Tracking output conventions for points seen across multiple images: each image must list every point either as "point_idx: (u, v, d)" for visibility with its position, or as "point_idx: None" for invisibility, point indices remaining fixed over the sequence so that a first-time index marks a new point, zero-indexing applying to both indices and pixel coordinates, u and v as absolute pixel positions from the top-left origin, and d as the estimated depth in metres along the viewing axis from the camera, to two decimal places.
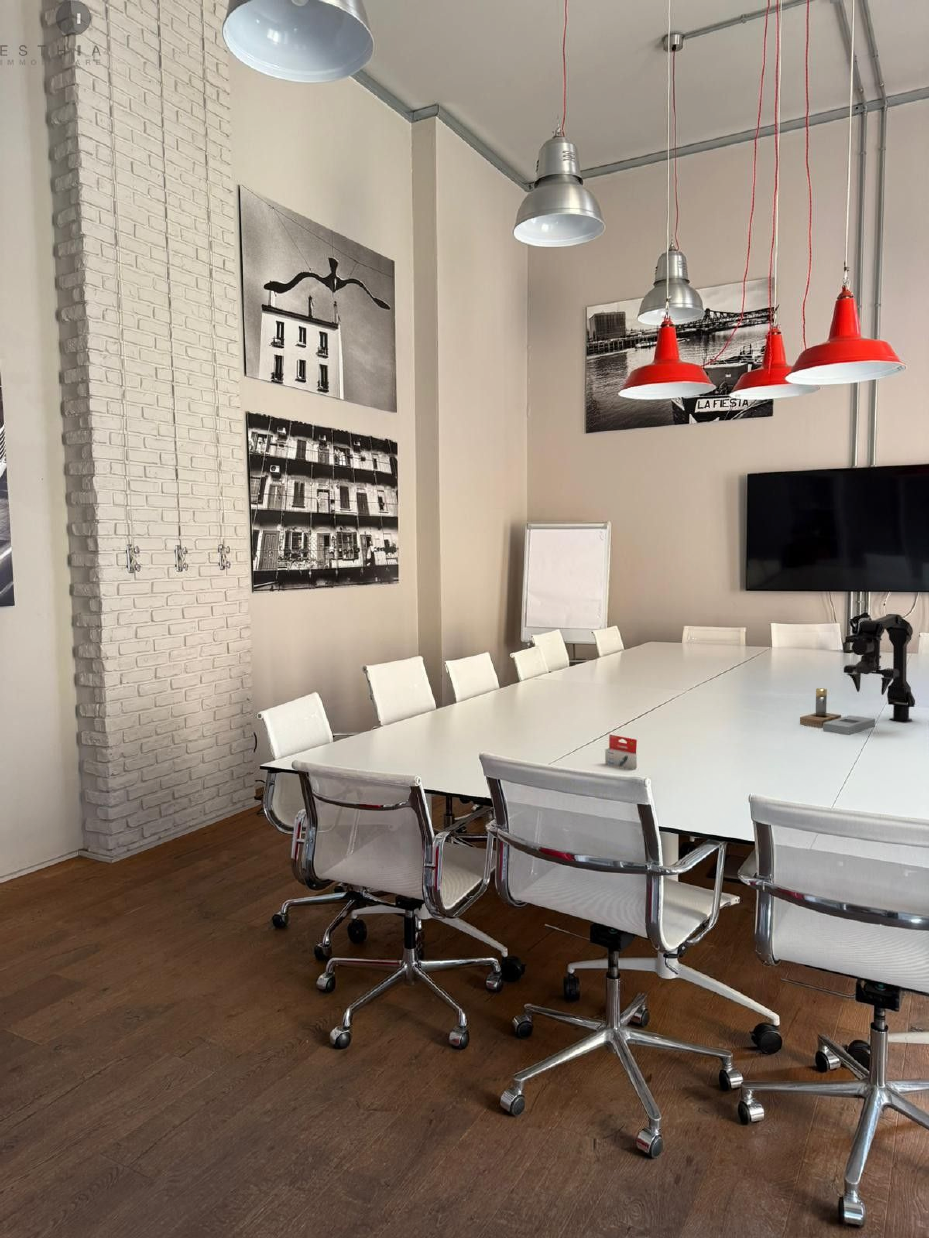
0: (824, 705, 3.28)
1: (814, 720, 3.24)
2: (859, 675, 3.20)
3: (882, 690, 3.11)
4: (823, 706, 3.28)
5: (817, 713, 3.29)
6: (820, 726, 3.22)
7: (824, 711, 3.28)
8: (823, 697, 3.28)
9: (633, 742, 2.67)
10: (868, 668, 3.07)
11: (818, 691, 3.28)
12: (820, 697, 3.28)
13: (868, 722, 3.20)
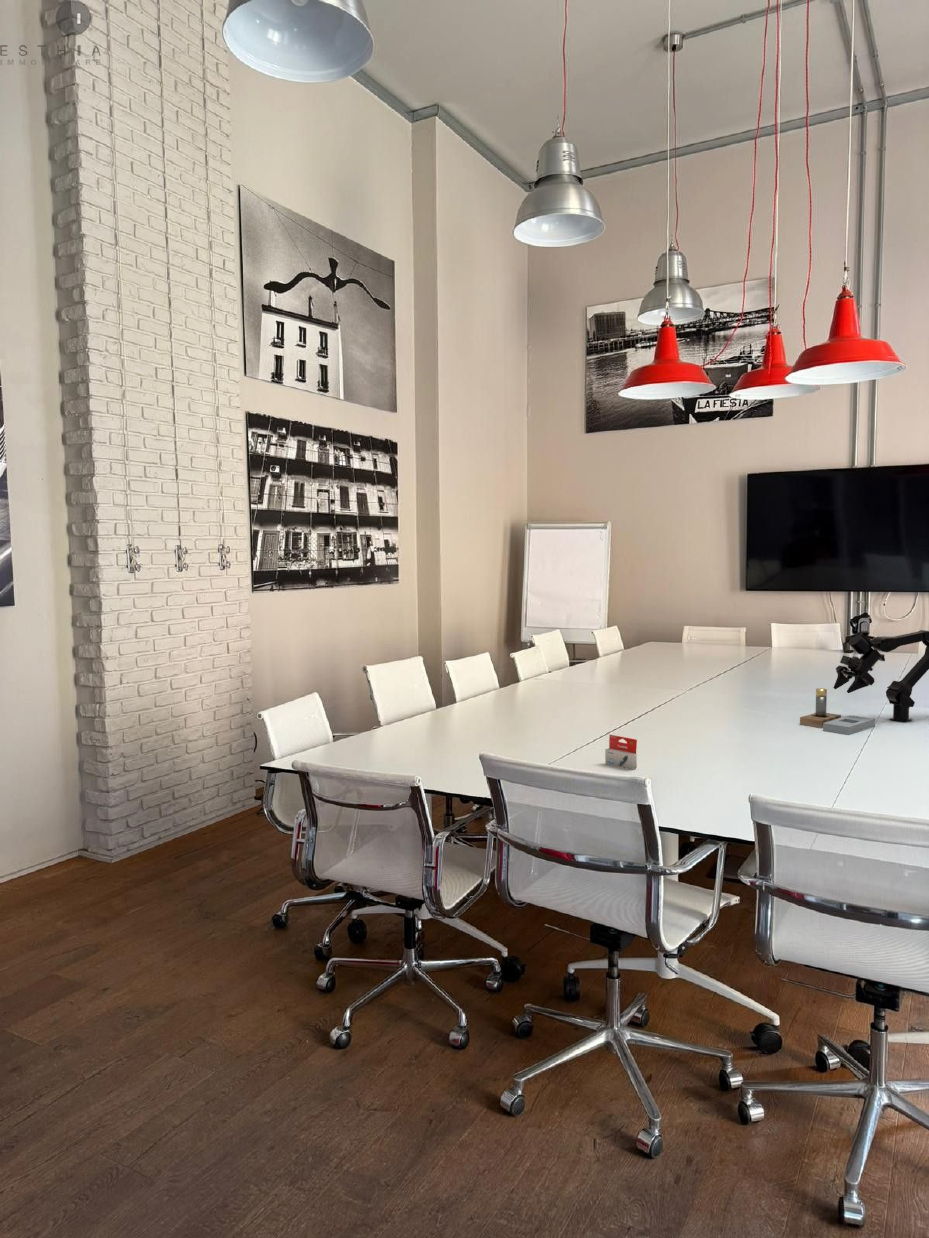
0: (824, 705, 3.28)
1: (814, 720, 3.24)
2: (846, 679, 3.35)
3: (849, 687, 3.25)
4: (823, 706, 3.28)
5: (817, 713, 3.29)
6: (820, 726, 3.22)
7: (824, 711, 3.28)
8: (823, 697, 3.28)
9: (633, 742, 2.67)
10: (849, 658, 3.27)
11: (818, 691, 3.28)
12: (820, 697, 3.28)
13: (868, 722, 3.20)
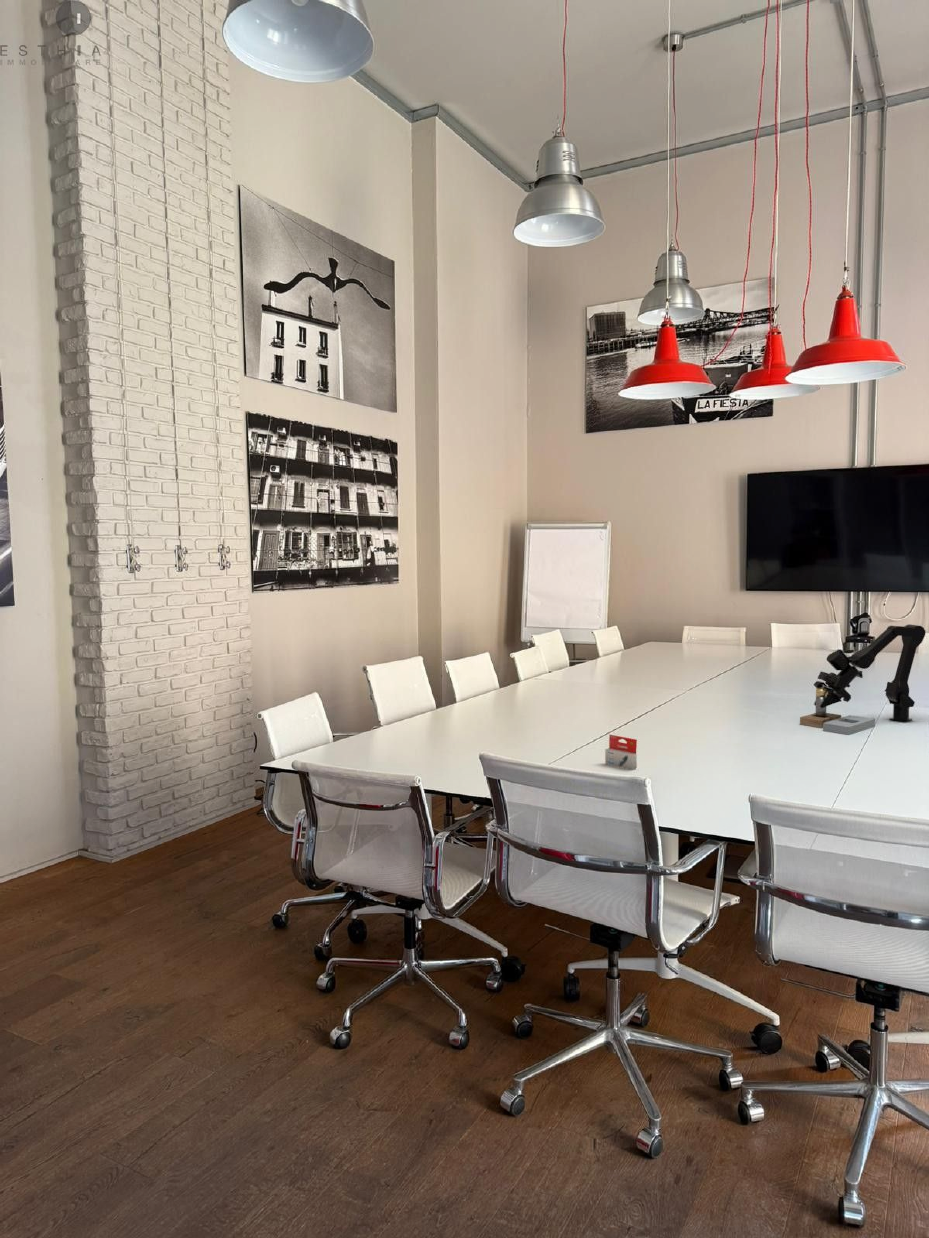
0: None
1: (814, 720, 3.24)
2: (827, 696, 3.33)
3: (822, 702, 3.27)
4: None
5: (817, 713, 3.29)
6: (820, 726, 3.22)
7: (824, 711, 3.28)
8: (823, 697, 3.28)
9: (633, 742, 2.67)
10: (826, 674, 3.26)
11: (818, 691, 3.28)
12: (820, 697, 3.28)
13: (868, 722, 3.20)
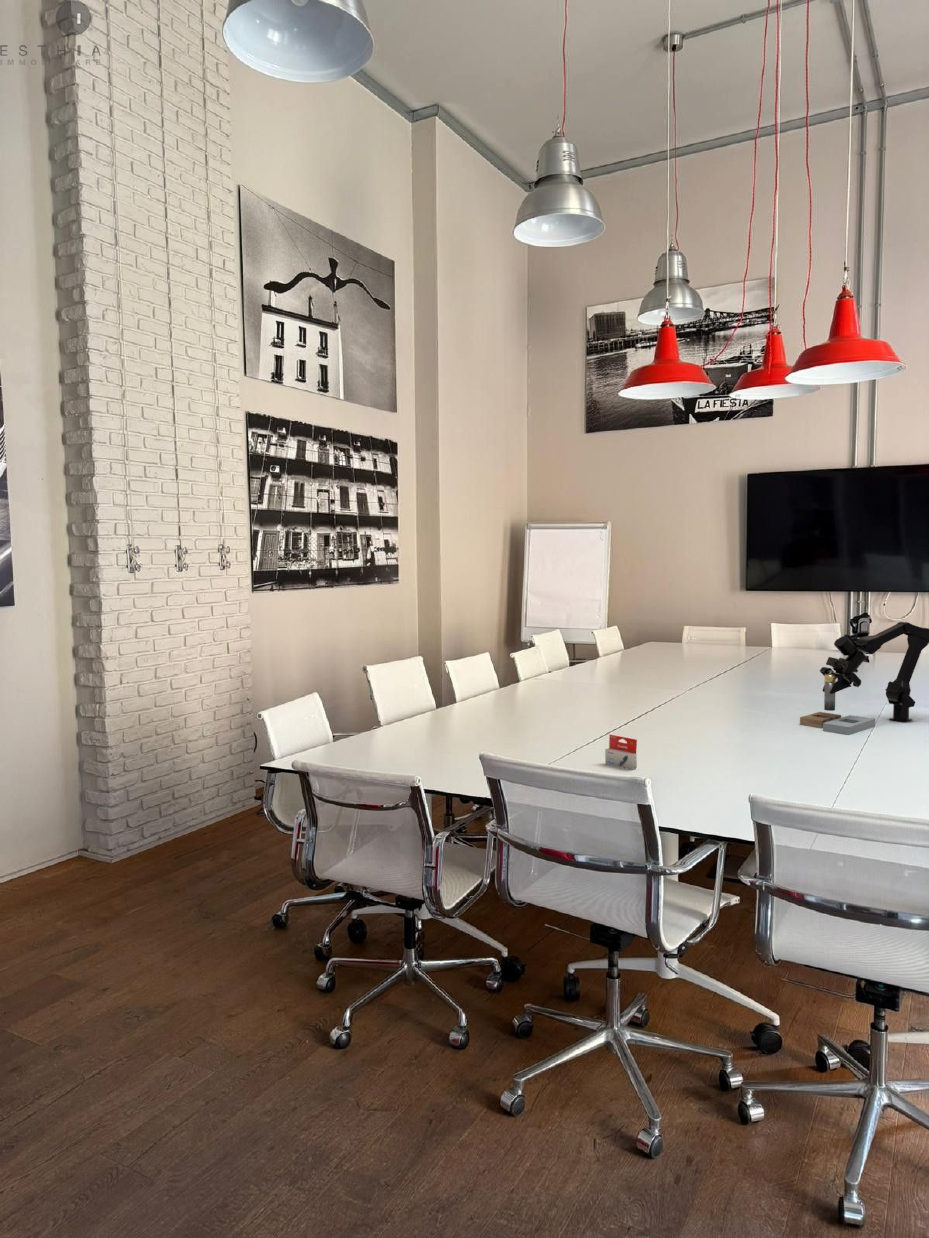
0: None
1: (814, 720, 3.24)
2: None
3: (832, 688, 3.23)
4: None
5: (826, 699, 3.25)
6: (820, 726, 3.22)
7: (833, 697, 3.24)
8: (832, 683, 3.24)
9: (633, 742, 2.67)
10: (835, 660, 3.22)
11: (827, 677, 3.24)
12: (829, 683, 3.24)
13: (868, 722, 3.20)
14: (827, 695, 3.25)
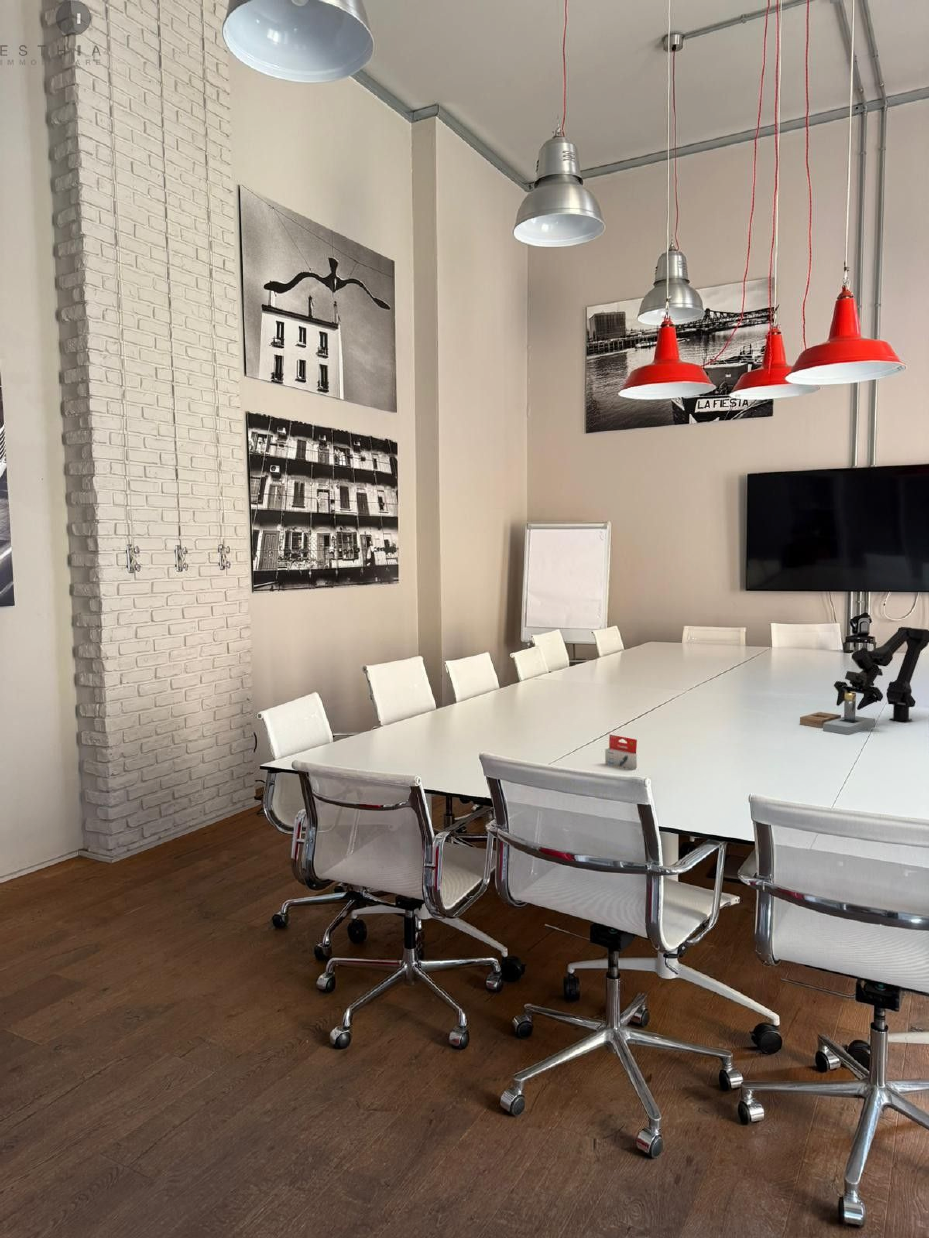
0: (854, 709, 3.18)
1: (814, 720, 3.24)
2: None
3: (859, 704, 3.15)
4: (854, 711, 3.18)
5: (847, 718, 3.19)
6: (820, 726, 3.22)
7: (854, 716, 3.19)
8: (854, 701, 3.18)
9: (633, 742, 2.67)
10: (857, 674, 3.17)
11: (849, 695, 3.18)
12: (851, 701, 3.18)
13: (868, 722, 3.20)
14: (848, 714, 3.19)
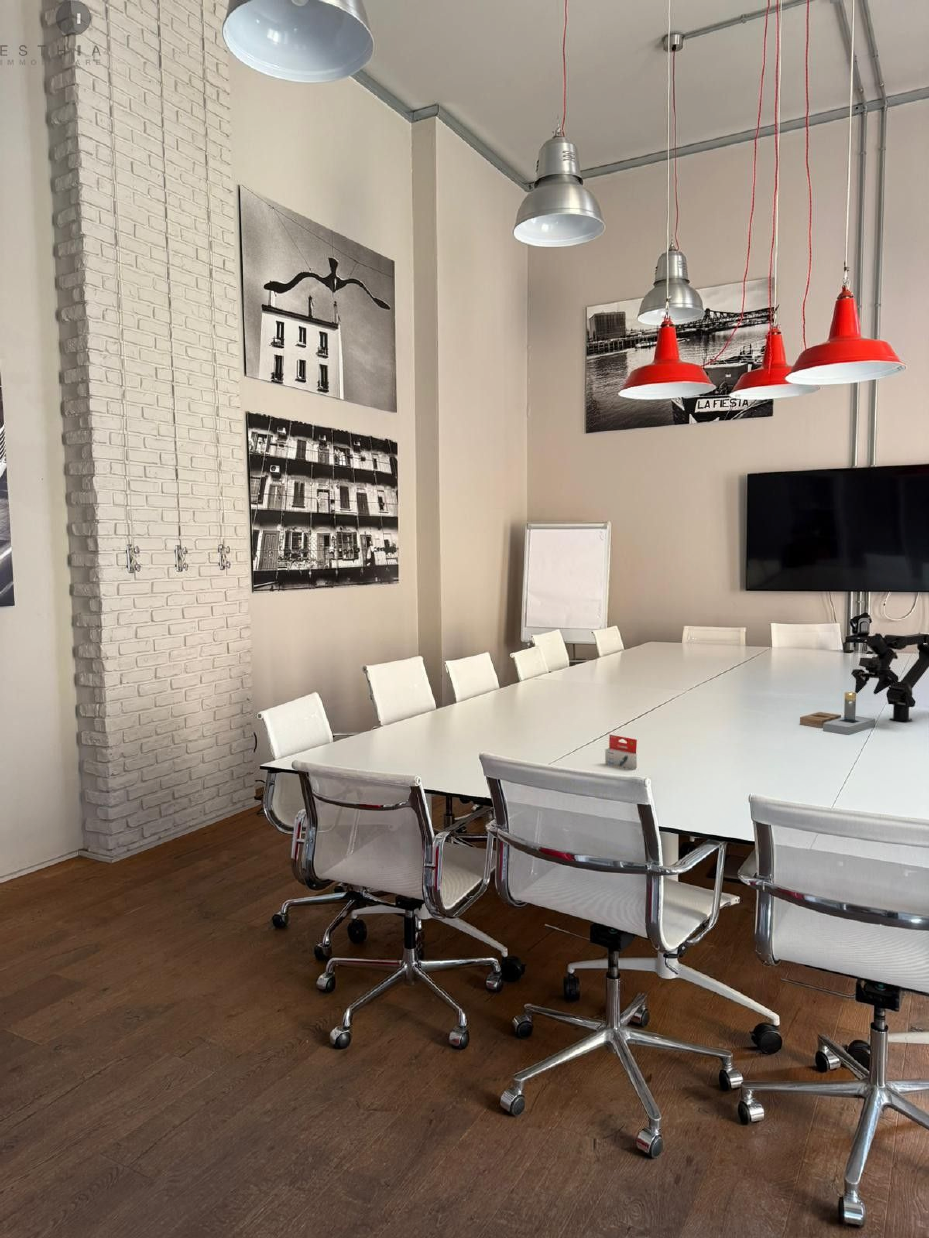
0: (854, 709, 3.18)
1: (814, 720, 3.24)
2: (864, 682, 3.30)
3: (875, 688, 3.19)
4: (854, 711, 3.18)
5: (847, 718, 3.19)
6: (820, 726, 3.22)
7: (854, 716, 3.19)
8: (854, 701, 3.18)
9: (633, 742, 2.67)
10: (869, 659, 3.21)
11: (849, 695, 3.18)
12: (851, 701, 3.18)
13: (868, 722, 3.20)
14: (848, 714, 3.19)
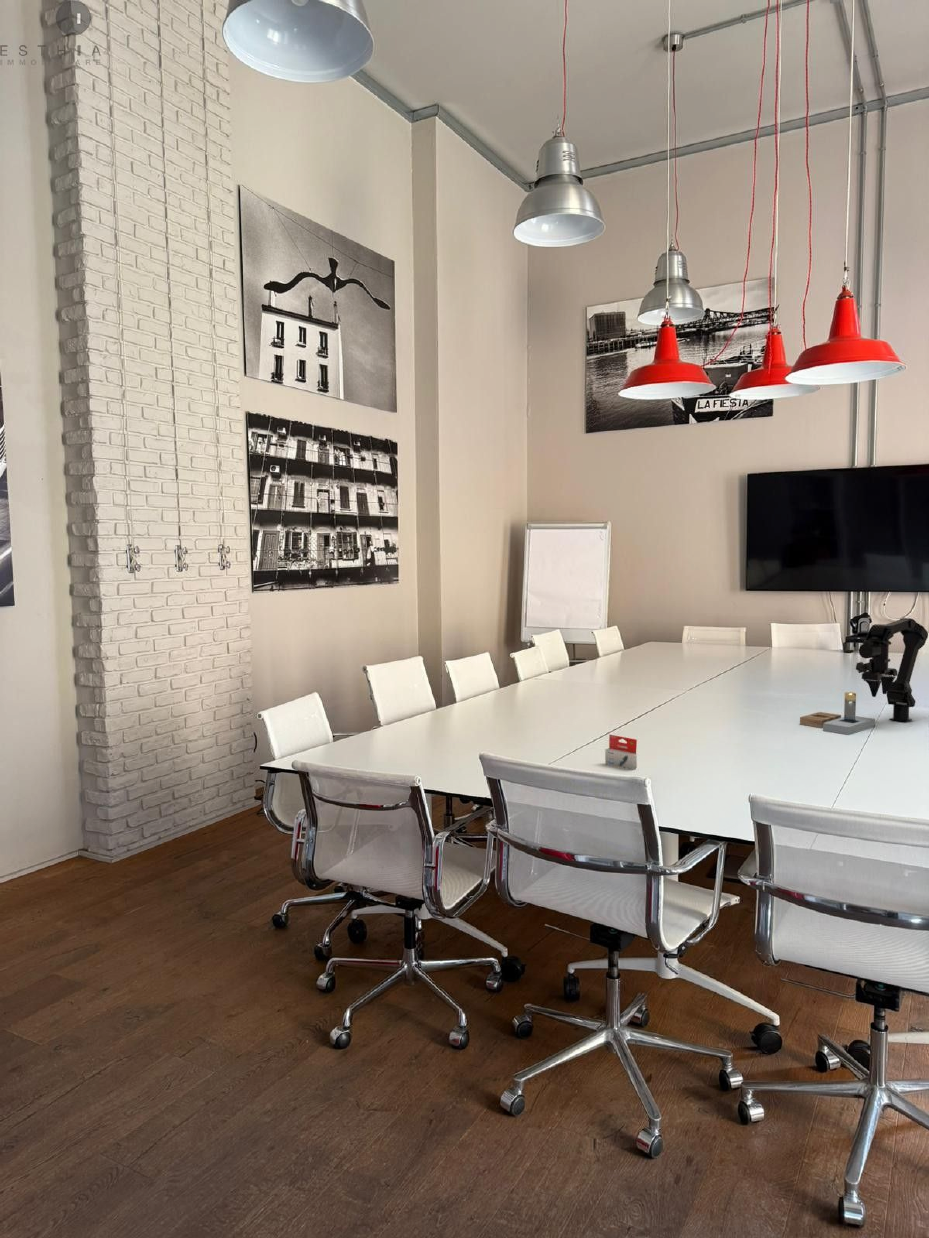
0: (854, 709, 3.18)
1: (814, 720, 3.24)
2: (889, 679, 3.26)
3: None
4: (854, 711, 3.18)
5: (847, 718, 3.19)
6: (820, 726, 3.22)
7: (854, 716, 3.19)
8: (854, 701, 3.18)
9: (633, 742, 2.67)
10: None
11: (849, 695, 3.18)
12: (851, 701, 3.18)
13: (868, 722, 3.20)
14: (848, 714, 3.19)
